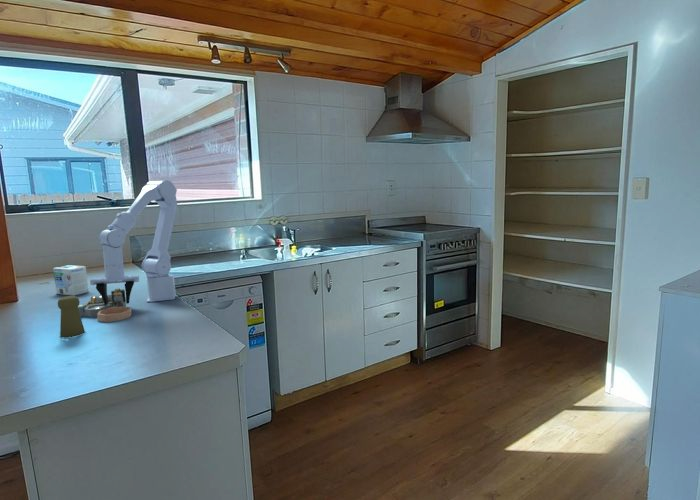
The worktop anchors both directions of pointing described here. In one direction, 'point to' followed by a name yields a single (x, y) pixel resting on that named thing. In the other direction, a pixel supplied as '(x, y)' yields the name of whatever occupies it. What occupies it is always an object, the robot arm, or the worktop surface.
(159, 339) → the worktop surface
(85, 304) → the trough
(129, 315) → the cup
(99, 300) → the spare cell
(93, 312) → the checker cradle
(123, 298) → the cell
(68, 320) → the cork
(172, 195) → the robot arm
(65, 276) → the light bulb box
